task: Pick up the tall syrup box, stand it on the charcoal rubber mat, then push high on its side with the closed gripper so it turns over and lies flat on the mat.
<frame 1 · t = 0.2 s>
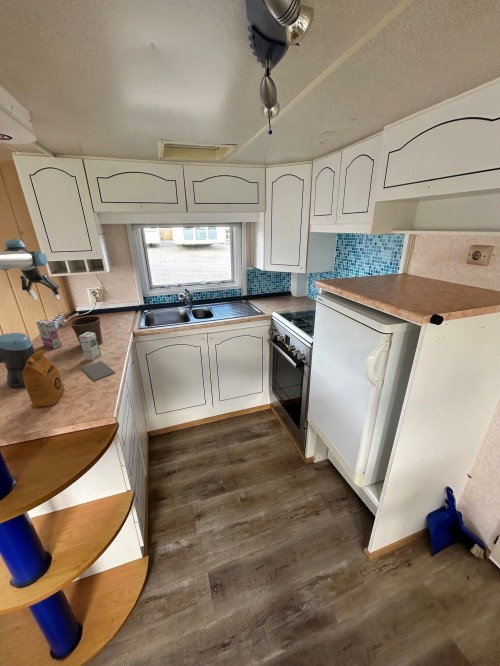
hand: (47, 299, 164), 28 cm above the worktop, tool tilted 20°, fingers open, 13 cm apart
syrup box: (93, 357, 152), on the worktop
rubber mat: (98, 370, 138), on the worktop
plant pot: (91, 344, 169), on the worktop
coffee package: (51, 399, 116), on the worktop
candy bar box: (53, 346, 167), on the worktop
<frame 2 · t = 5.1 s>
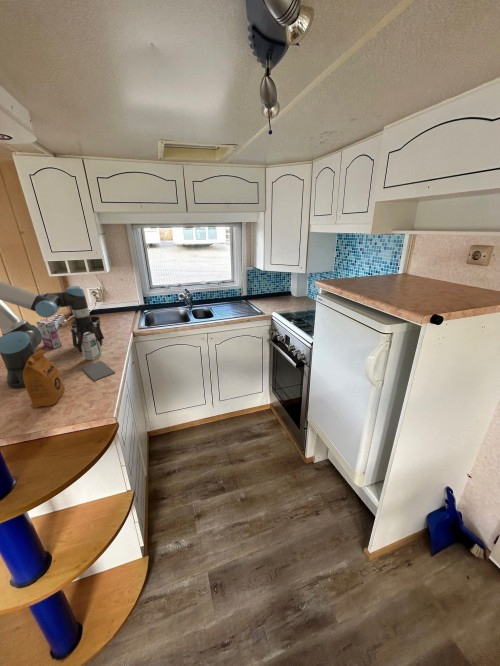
hand: (92, 353, 151), 2 cm above the worktop, tool pointing down, fingers closed on syrup box, 8 cm apart
syrup box: (93, 357, 152), on the worktop, touching gripper
everything else where it was.
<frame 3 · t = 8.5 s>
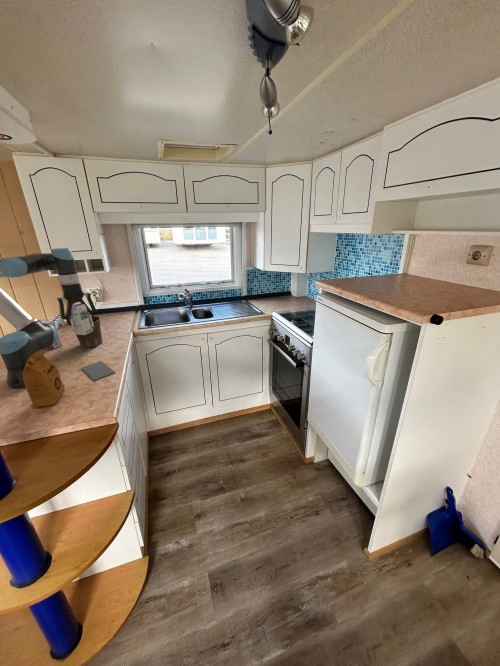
hand: (83, 328, 133), 22 cm above the worktop, tool pointing down, fingers closed on syrup box, 8 cm apart
syrup box: (84, 333, 134), point 20 cm above the worktop, touching gripper
everything else where it was.
when the fingers open (5 cm above the worktop, at t = 11.9 s): syrup box drops 2 cm, resting on rubber mat.
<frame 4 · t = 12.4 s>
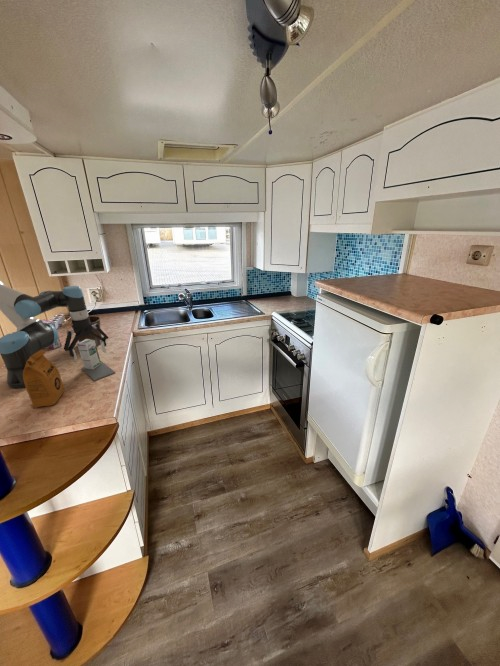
hand: (90, 356, 139), 6 cm above the worktop, tool pointing down, fingers open, 13 cm apart
syrup box: (92, 366, 141), resting on rubber mat
everything else where it was.
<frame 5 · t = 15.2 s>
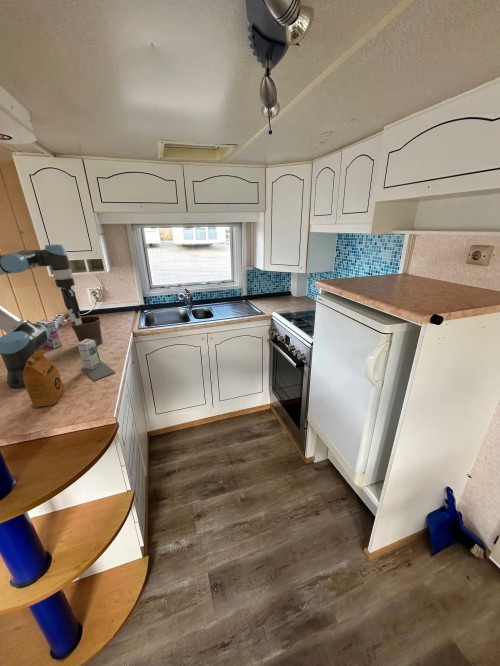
hand: (76, 322, 138), 23 cm above the worktop, tool pointing down, fingers open, 7 cm apart
nothing on the worktop moved.
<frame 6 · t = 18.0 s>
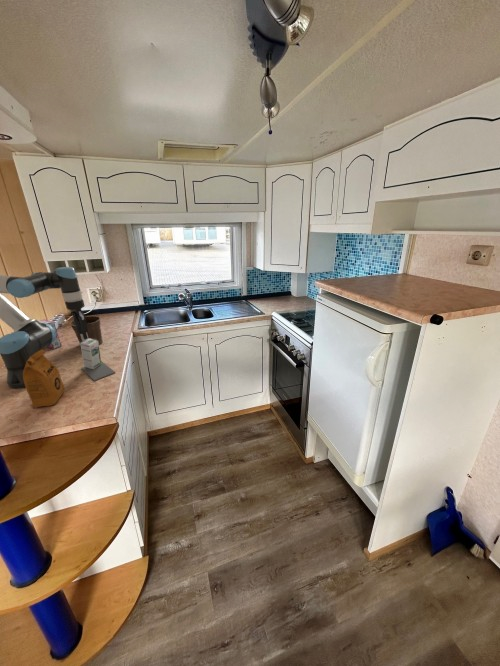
hand: (86, 344, 139), 13 cm above the worktop, tool pointing down, fingers closed
syrup box: (92, 365, 141), point 1 cm above the worktop, touching gripper, rubber mat
everything else where it was.
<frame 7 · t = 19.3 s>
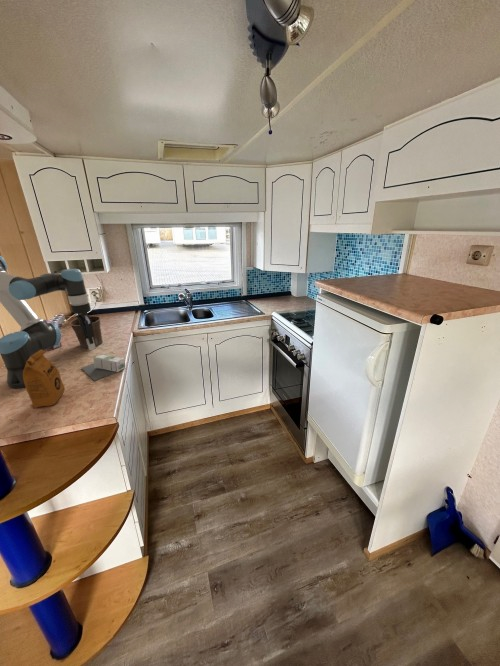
hand: (92, 349, 133), 13 cm above the worktop, tool pointing down, fingers closed
syrup box: (97, 360, 140), point 4 cm above the worktop, touching rubber mat
everything else where it was.
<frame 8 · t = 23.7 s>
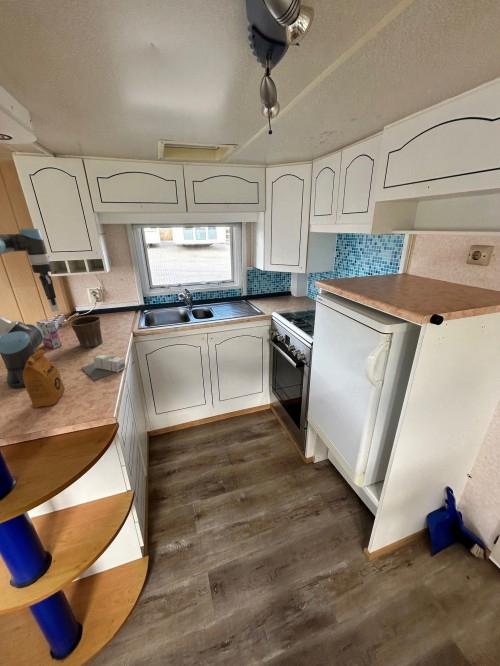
hand: (55, 310, 136), 29 cm above the worktop, tool pointing down, fingers closed
nothing on the worktop moved.
at the end: syrup box tilted 94°; syrup box inside the target area (5.0 cm from its centre), point 4.0 cm above the worktop; the gripper is holding nothing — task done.
